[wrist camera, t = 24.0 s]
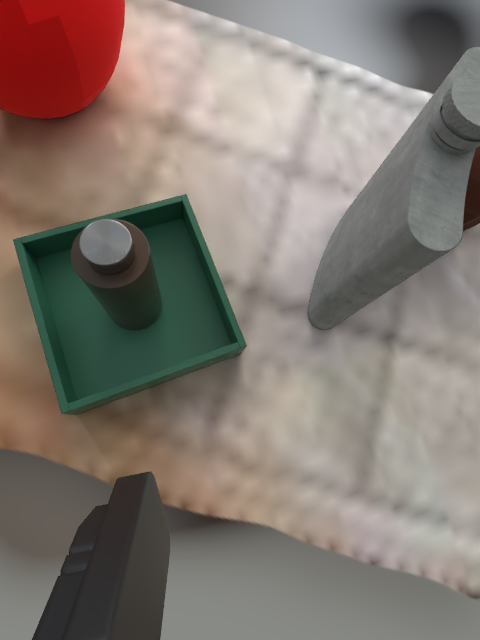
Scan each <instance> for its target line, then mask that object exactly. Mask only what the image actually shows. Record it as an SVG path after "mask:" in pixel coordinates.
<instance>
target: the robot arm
mask: <svg viewBox="0 0 480 640" xmlns="http://www.w3.org/2000/svg"><path fill="white" fill-rule="evenodd" d="M169 555H170V537H169V529H168V524H167V520H166V516H165V513H164V509H163V506H162V502H161V498H160V495H159V491H158V488H157V484H156V481H155V477H154V475H153V473H152V472H145V473H140V474H135V475H130V476H125V477H120V478H118V479H117V480H116V483H115V485H114V488H113V491H112V494H111V497H110V500H109V503H108V504H106V505H102V506H96V507H95V508H94V509H93V510H92V512H91V513H90V514H89V515H88V517H87V518H86V519H85V520H84V522H83V523H82V524H81V525H80V526H79V527H78V530H77V532H76V535H75V537H74V540H73V542H72V544H71V547H70V549H69V555H67V556H66V559H65V561H64V564H63V566H62V569H61V575H60V576H58V578H57V580H56V583H55V585H54V588H53V590H52V592H51V595H50V597H49V600H48V602H47V605H46V607H45V609H44V612H43V614H42V617H41V619H40V621H39V624H38V626H37V629H36V631H35V633H34V636H33V638H32V640H160V636H161V627H162V618H163V608H164V599H165V591H166V582H167V573H168V564H169Z"/></svg>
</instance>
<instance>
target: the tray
mask: <svg viewBox="0 0 480 640" xmlns="http://www.w3.org/2000/svg"><path fill="white" fill-rule="evenodd" d="M103 219H119V220H123V221H126V222H129V223H131V224H133V225H134V226H136V227H137V228H138V229H139V230H140V231H141V232H142V233H143V234H144V235H145V237H146V239H147V241H148V244H149V247H150V251H151V256H152V260H153V264H154V269H155V273H156V277H157V281H158V286H159V290H160V294H161V299H162V310H161V313H160V315H159V317H158V319H157V320H156V321H155V322H154V323H153V324H152V325H150V326H149V327H147V328H144V329H141V330H128V329H125V328H122V327H120V326H119V325H117V324H116V323H115V322H114V321H113V320H112V318H111V317H110V316H109V314H108V313H107V312H106V310H105V309H104V308H103V307H102V305H101V304H100V303H99V301H98V300H97V299H96V297H95V296H94V295H93V294H92V292H91V291H90V290H89V288H88V287H87V286H86V284H85V283H84V282H83V281H82V279H81V278H80V277H79V275H78V274H77V273H76V271H75V269H74V267H73V265H72V261H71V249H72V245H73V242H74V240H75V238H76V237H77V235H78V234H79V233H80V232H81V231H82V230H83V229H84V228H85V227H87V226H88V225H89V224H91V223H93V222H95V221H98V220H103ZM13 241H14V245H15V248H16V252H17V256H18V259H19V263H20V266H21V270H22V273H23V277H24V281H25V284H26V288H27V291H28V295H29V299H30V302H31V306H32V309H33V313H34V316H35V320H36V324H37V327H38V331H39V334H40V338H41V341H42V345H43V349H44V352H45V356H46V359H47V363H48V367H49V370H50V374H51V377H52V381H53V384H54V388H55V392H56V395H57V399H58V402H59V406H60V410H61V413H62V414H74V415H77V414H79V413H82V412H85V411H87V410H90V409H93V408H95V407H98V406H101V405H104V404H106V403H109V402H112V401H114V400H117V399H120V398H122V397H125V396H128V395H130V394H133V393H136V392H139V391H141V390H144V389H147V388H149V387H152V386H155V385H157V384H160V383H163V382H166V381H168V380H171V379H174V378H176V377H179V376H182V375H184V374H187V373H190V372H192V371H195V370H198V369H201V368H203V367H206V366H209V365H211V364H214V363H217V362H219V361H222V360H225V359H228V358H230V357H233V356H236V355H238V354H241V353H242V351H243V350H244V349H245V347H246V346H247V345H246V343H245V340H244V338H243V335H242V333H241V330H240V328H239V325H238V323H237V320H236V318H235V315H234V313H233V310H232V308H231V305H230V303H229V300H228V298H227V295H226V293H225V290H224V288H223V285H222V283H221V280H220V278H219V275H218V273H217V270H216V267H215V265H214V262H213V260H212V257H211V255H210V252H209V250H208V247H207V245H206V242H205V240H204V237H203V235H202V232H201V230H200V227H199V225H198V222H197V220H196V217H195V215H194V212H193V210H192V207H191V205H190V202H189V200H188V197H187V195H186V194H185V195H181V196H177V197H174V198H170V199H166V200H162V201H158V202H154V203H151V204H147V205H143V206H139V207H135V208H132V209H128V210H124V211H120V212H116V213H112V214H109V215H105V216H101V217H97V218H93V219H89V220H86V221H82V222H78V223H74V224H70V225H67V226H63V227H59V228H55V229H51V230H47V231H44V232H40V233H36V234H32V235H28V236H25V237H21V238H17V239H13Z"/></svg>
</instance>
